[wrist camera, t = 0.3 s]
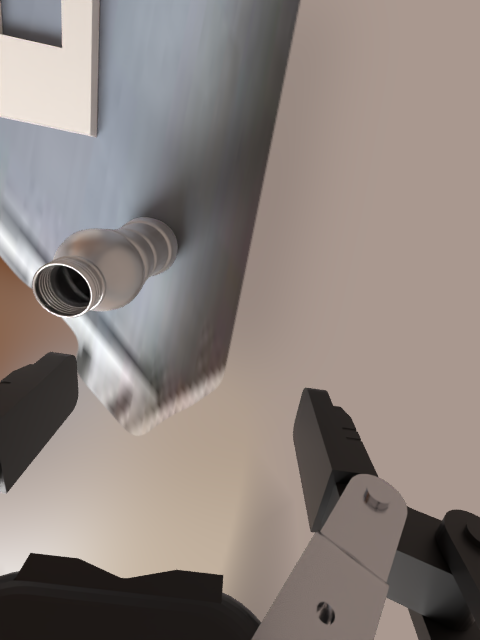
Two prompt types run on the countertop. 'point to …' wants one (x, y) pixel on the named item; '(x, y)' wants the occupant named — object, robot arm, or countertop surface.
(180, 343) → the countertop surface
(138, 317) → the countertop surface
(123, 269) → the plastic bottle
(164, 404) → the countertop surface
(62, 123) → the white square board
